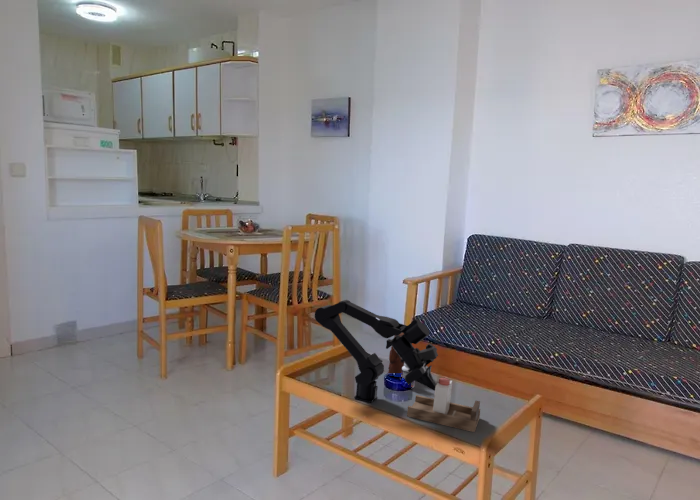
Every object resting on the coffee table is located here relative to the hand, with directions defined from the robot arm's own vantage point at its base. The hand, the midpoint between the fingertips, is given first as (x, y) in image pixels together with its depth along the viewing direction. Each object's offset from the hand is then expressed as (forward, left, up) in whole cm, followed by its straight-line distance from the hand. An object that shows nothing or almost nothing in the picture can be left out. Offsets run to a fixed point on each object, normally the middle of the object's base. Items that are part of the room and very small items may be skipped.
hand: (435, 389), depth 170 cm
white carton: (+2, 0, -7) cm, 8 cm away
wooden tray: (+3, 0, -9) cm, 9 cm away
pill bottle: (-15, +21, -9) cm, 27 cm away
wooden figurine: (-22, +32, -9) cm, 40 cm away
